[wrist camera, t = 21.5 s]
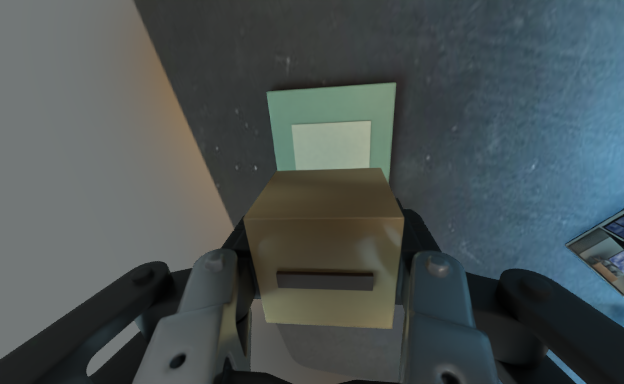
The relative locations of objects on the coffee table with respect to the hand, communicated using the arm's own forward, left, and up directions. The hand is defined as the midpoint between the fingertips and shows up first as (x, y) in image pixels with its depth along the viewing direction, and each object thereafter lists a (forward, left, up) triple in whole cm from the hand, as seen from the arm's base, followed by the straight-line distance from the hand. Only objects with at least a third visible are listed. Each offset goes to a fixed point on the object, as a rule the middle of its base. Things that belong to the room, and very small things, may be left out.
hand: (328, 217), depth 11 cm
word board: (0, -4, -9) cm, 10 cm away
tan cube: (0, 0, 0) cm, 0 cm away
